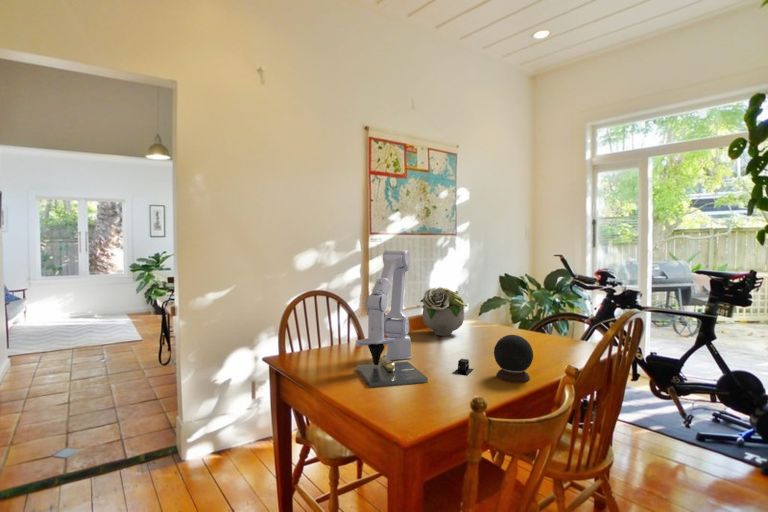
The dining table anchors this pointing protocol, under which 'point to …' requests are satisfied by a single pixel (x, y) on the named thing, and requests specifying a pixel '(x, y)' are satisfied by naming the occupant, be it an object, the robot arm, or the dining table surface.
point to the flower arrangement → (443, 310)
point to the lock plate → (391, 375)
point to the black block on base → (463, 368)
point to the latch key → (387, 364)
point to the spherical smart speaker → (513, 358)
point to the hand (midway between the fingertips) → (375, 364)
